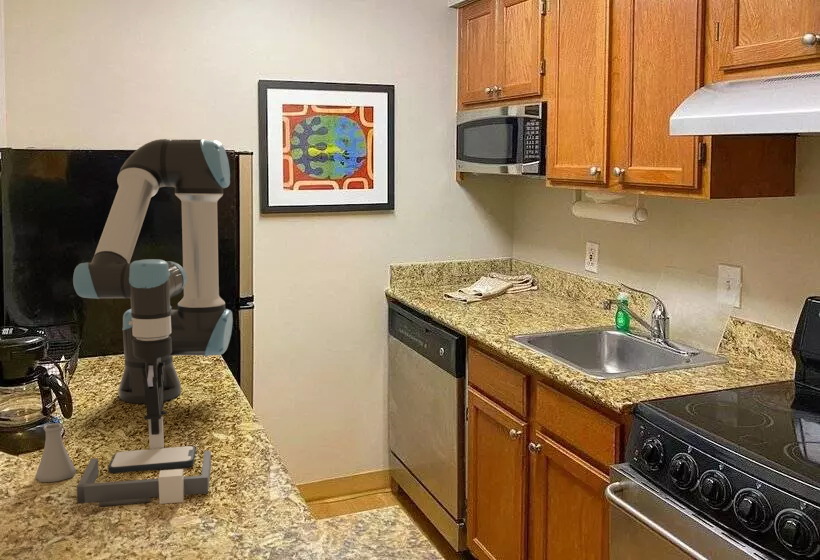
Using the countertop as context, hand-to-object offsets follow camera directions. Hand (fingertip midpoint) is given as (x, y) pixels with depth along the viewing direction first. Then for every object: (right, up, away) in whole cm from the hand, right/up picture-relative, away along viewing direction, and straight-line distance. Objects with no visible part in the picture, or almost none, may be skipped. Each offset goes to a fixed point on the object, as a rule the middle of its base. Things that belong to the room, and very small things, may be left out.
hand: (156, 447), depth 159 cm
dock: (+3, -4, -16) cm, 17 cm away
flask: (-16, -3, -11) cm, 20 cm away
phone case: (+1, -2, -4) cm, 5 cm away
